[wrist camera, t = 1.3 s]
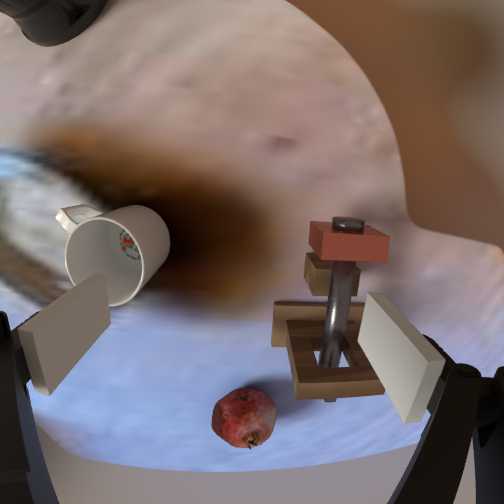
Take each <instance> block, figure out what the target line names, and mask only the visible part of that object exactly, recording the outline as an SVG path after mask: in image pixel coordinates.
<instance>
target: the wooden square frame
mask: <svg viewBox="0 0 504 504" xmlns="http://www.w3.org/2000/svg"><path fill="white" fill-rule="evenodd" d="M364 308H365V305H364V304H363V303H350V308H349V314H348V320H347V326H346V332H345V337H344V342H343V348H342V351H343V354H344V356H345V358H346V360H347V362H348V364H349V367H337V368H319V367H318V364H317V361H316V358H315V355H314V351H320V349H321V343H322V337H323V330H324V323H325V316H326V309H327V303H306V302H274V312H273V326H272V338H271V345H272V347H287V351H288V356H289V362H290V367H291V373H292V378H293V383H294V389H295V395H296V399H329V398H347V397H360V396H372V395H382V394H384V392H385V388H384V386H383V384H382V383H381V381H380V379H379V377H378V376H377V374H376V372H375V370H374V369H373V367H372V365H371V363H370V362H369V360H368V358H367V356H366V355H365V353H364V351H363V349H362V348H361V346H360V344H359V343H358V337H359V332H360V327H361V323H362V318H363V313H364Z"/></svg>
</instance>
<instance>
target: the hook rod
mask: <svg viewBox="0 0 504 504" xmlns="http://www.w3.org/2000/svg"><path fill="white" fill-rule="evenodd" d="M389 242H390V236H388V235H386V234H384V233H382V232H380V231H378V230H376V229H374V228H372V227H370V226H368V225H365V220H362V219H358V218H352V217H333V219H332V222H316V221H310V233H309V245H310V246H311V247H312V249H313V250H314V251H315V253H316V254H317V255H318V257H319V258H320V259H321V260H333V261H332V270H331V278H330V286H329V294H328V302H327V309H326V316H325V323H324V330H323V337H322V343H321V349H320V355H319V361H318V367H319V368H337V367H339V363H340V358H341V353H342V348H343V342H344V337H345V332H346V326H347V320H348V314H349V308H350V302H351V295H352V289H353V282H354V275H355V267H356V261H368V262H387V256H388V249H389ZM324 401H325V402H336V398H329V399H324Z"/></svg>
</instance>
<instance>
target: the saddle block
mask: <svg viewBox="0 0 504 504" xmlns="http://www.w3.org/2000/svg"><path fill="white" fill-rule="evenodd" d="M332 261H333V260H321V259H320V258H319V257H318V255H317V254H309V253H306V260H305V271H304V278H305V280H306V282H307V284H308V286H309V288H310V290H311V293H312V295H313V296H328V294H329V286H330V278H331V270H332ZM360 272H361V270H360V269H359V268H358V267H357V266H356V267H355V275H354V282H353V289H352V295H351V296H357V292H358V286H359V279H360Z"/></svg>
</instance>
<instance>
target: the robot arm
mask: <svg viewBox="0 0 504 504" xmlns="http://www.w3.org/2000/svg"><path fill="white" fill-rule="evenodd" d="M106 2H107V0H0V12H2V13H4V14H6V15H8V16H10V17H12V18H13V19H14V20H15V22H16V23H17V24H18V25H19V26H20V28H21V30H22V32H23V34H24V36H25V37H26V38H27V39H28V40H30V41H32V42H34V43H36V44H38V45H40V46H45V47H49V46H55V45H59V44H62V43H64V42H66V41H68V40H70V39H72V38H73V37H75V36H76V35H78V34H79V33H81V32H82V31H83V30H84V29H86V28H87V27H88V26H89V25H90V24H91V23H92V22H93V21H94V20H95V18H96V17H97V16H98V15H99V13H100V12H101V11H102V9H103V8H104V6H105V4H106ZM110 324H111V321H110V311H109V301H108V290H107V276H106V275H101V274H93V275H91V276H90V277H88V278H87V279H85V280H84V281H82V282H81V283H79V284H78V285H77V286H75V287H74V288H72V289H71V290H69V291H68V292H67V293H65V294H64V295H62V296H61V297H60V298H58V299H57V300H55V301H54V302H53V303H51V304H50V305H48V306H47V307H46V308H44V309H43V310H41V311H39V312H36V313H35V314H33V315H32V316H31V317H29V319H27V320H25V321H24V323H23V322H22V323H21V324H20V325H18V326H17V327H16V328H14V329H13V330H12V331H11V330H10V326H9V322H8V317H7V314H6V313H5V312H3V311H0V504H59V501H58V499H57V496H56V494H55V490H54V488H53V485H52V482H51V479H50V476H49V473H48V470H47V467H46V463H45V460H44V457H43V453H42V450H41V446H40V442H39V438H38V434H37V430H36V426H35V421H34V417H33V412H32V407H31V402H30V397H29V391H28V388H27V386H26V383H27V382H28V381H29V380H30V379H31V380H32V384H33V387H34V390H35V391H37V392H40V393H43V394H46V395H49V396H50V395H51V394H52V393H53V391H54V390H55V389H56V388H57V386H58V385H59V384H60V383H61V382H62V380H63V379H64V378H65V377H66V376H67V374H68V373H69V372H70V371H71V370H72V368H73V367H74V366H75V365H76V364H77V362H78V361H79V360H80V359H81V358H82V357H83V355H84V354H85V353H86V352H87V351H88V350H89V348H90V347H91V346H92V345H93V344H94V343H95V341H96V340H97V339H98V338H99V337H100V336H101V335H102V333H103V332H104V331H105V330H106V329H107V328H108V327H109V325H110ZM358 343H359V344H360V346H361V348H362V349H363V351H364V353H365V355H366V356H367V358H368V360H369V362H370V363H371V365H372V367H373V369H374V370H375V372H376V374H377V376H378V377H379V379H380V381H381V383H382V384H383V386H384V388H385V390H386V392H387V393H388V395H389V397H390V399H391V401H392V402H393V404H394V406H395V408H396V410H397V411H398V413H399V415H400V417H401V419H402V421H403V423H411V422H417V421H421V420H422V418H423V416H424V413H425V411H426V409H427V410H428V411H429V413H430V414H431V416H430V418H429V420H428V422H427V424H426V426H425V428H424V430H423V432H422V434H421V439H420V441H419V443H418V445H417V448H416V450H415V452H414V454H413V456H412V458H411V460H410V462H409V465H408V466H407V468H406V470H405V472H404V474H403V476H402V478H401V480H400V482H399V483H398V485H397V487H396V489H395V491H394V493H393V495H392V496H391V498H390V500H389V501H388V503H387V504H453V502H454V499H455V496H456V493H457V490H458V487H459V484H460V481H461V477H462V474H463V470H464V467H465V463H466V459H467V455H468V451H469V447H470V443H471V438H473V449H474V460H475V461H474V462H475V478H476V479H475V480H476V504H504V366H502V367H499V368H498V369H497V371H496V373H495V375H494V378H490V377H481V373H480V372H479V370H478V369H476V368H475V367H473V366H471V365H468V364H463V363H458V364H456V363H455V362H454V361H453V360H452V358H451V357H450V356H449V355H448V354H447V353H446V352H445V351H444V350H443V349H442V348H441V347H439V345H438V344H437V343H436V342H435V341H434V340H433V339H431V338H430V337H428V336H426V335H424V334H423V335H422V334H421V333H420V332H419V331H418V330H417V329H416V328H415V327H414V326H413V325H412V324H411V323H410V322H409V321H408V320H407V319H406V318H405V317H404V315H403V314H402V313H401V312H400V311H399V310H398V309H397V308H396V307H395V306H394V305H393V304H392V303H391V302H390V301H389V300H388V299H387V298H386V297H385V296H384V295H383V294H382V293H371V292H367V297H366V302H365V308H364V313H363V318H362V323H361V327H360V332H359V337H358Z"/></svg>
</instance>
